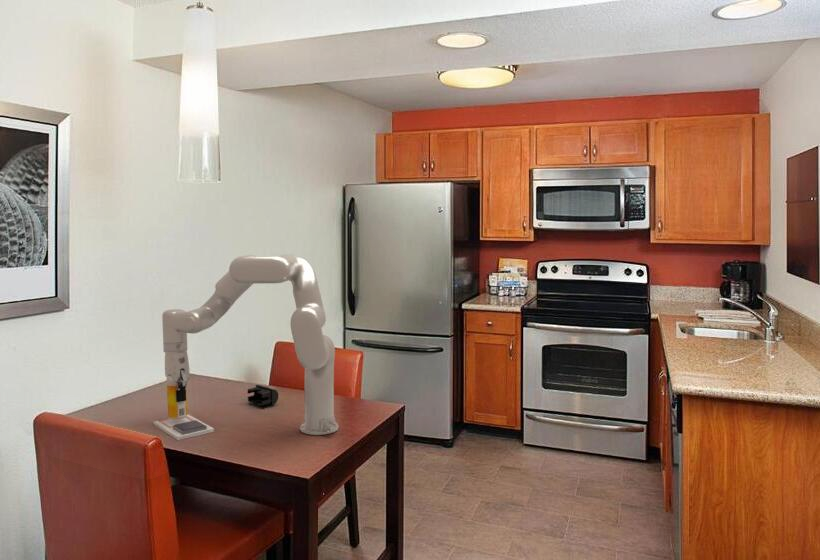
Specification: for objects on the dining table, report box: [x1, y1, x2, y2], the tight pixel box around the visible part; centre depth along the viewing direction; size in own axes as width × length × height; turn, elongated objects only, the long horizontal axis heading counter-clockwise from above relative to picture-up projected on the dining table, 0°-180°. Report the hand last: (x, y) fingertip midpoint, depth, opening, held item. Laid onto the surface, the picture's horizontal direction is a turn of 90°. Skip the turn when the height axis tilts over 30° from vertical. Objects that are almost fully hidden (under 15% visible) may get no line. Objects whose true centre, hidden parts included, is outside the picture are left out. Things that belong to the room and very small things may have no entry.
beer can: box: [166, 375, 188, 420], centre depth 206 cm, size 6×6×15 cm
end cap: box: [247, 384, 279, 410], centre depth 230 cm, size 10×7×7 cm
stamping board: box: [153, 413, 215, 441], centre depth 203 cm, size 20×12×2 cm, turn 43°
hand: (177, 398), depth 206 cm, fingers closed on beer can, 6 cm apart
